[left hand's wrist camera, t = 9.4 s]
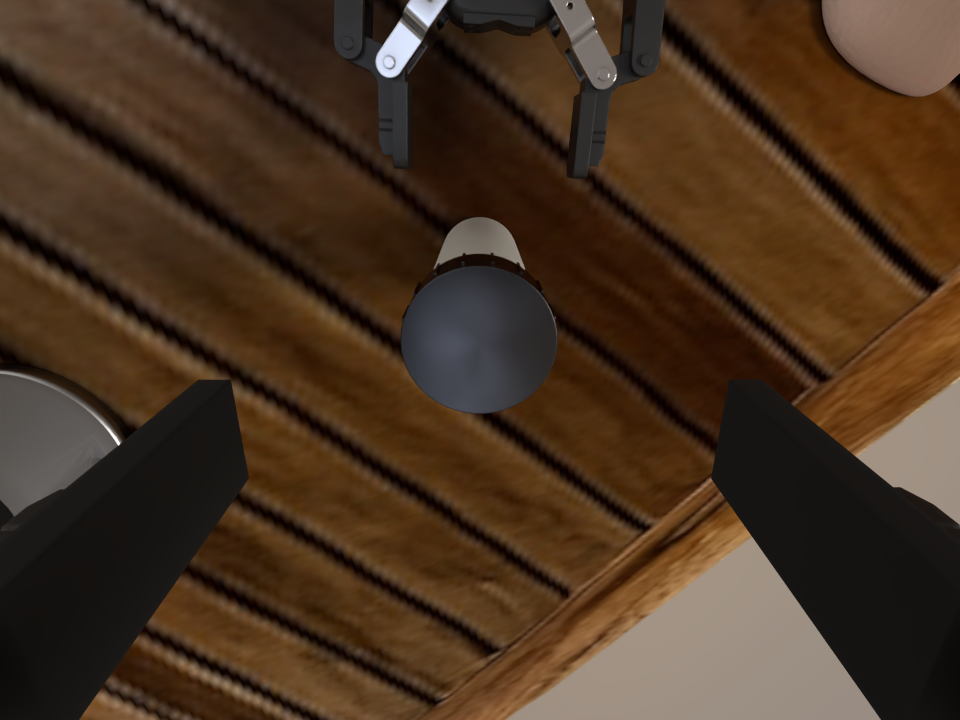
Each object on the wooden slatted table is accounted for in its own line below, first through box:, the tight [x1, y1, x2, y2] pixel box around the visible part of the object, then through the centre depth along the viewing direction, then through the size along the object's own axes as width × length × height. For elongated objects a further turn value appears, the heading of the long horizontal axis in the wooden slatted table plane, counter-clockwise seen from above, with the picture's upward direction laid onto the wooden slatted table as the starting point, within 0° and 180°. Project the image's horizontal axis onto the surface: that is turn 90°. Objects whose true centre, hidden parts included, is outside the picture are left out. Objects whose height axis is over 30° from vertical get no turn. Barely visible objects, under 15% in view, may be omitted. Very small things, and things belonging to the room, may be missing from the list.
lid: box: [401, 253, 558, 414], centre depth 20 cm, size 6×6×2 cm
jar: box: [434, 217, 525, 269], centre depth 27 cm, size 5×5×16 cm
